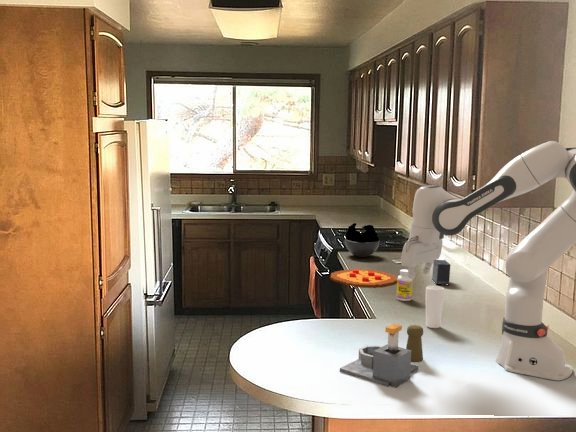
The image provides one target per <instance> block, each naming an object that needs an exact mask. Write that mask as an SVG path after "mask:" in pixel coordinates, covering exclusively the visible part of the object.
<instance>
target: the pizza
mask: <svg viewBox="0 0 576 432" xmlns="http://www.w3.org/2000/svg"><path fill="white" fill-rule="evenodd" d="M397 278H398V277H397V275H393V273H389V272H384V271H380V270H374V269H361V268H360V269H359V268H352V269H349V268H348V269H343V270H338V271H335V270H334V272H331V273H330V281H333V282H335V283H339V284H342V285H345V286H352V287H353V288H354V287H357V288H359V287H361V288H383V287H386V286H387V287H388V286H392V285H395V284H397Z"/></svg>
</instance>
